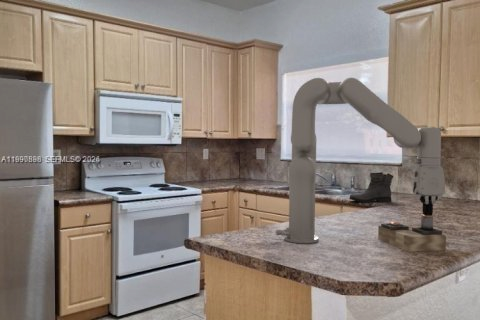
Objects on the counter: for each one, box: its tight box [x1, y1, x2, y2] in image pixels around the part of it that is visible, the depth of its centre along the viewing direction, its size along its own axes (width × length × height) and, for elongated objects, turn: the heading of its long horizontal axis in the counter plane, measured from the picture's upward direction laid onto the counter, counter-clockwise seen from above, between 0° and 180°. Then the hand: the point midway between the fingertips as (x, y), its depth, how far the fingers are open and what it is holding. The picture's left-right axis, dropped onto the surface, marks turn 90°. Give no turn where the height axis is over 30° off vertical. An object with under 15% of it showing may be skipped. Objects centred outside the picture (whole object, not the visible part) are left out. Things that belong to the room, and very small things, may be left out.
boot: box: [348, 171, 395, 203], centre depth 275 cm, size 10×29×19 cm, turn 104°
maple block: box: [377, 222, 447, 253], centre depth 155 cm, size 14×20×6 cm
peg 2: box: [420, 213, 434, 231], centre depth 151 cm, size 4×4×7 cm
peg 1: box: [388, 221, 401, 227], centre depth 158 cm, size 4×4×7 cm
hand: (427, 214), depth 151 cm, fingers closed
